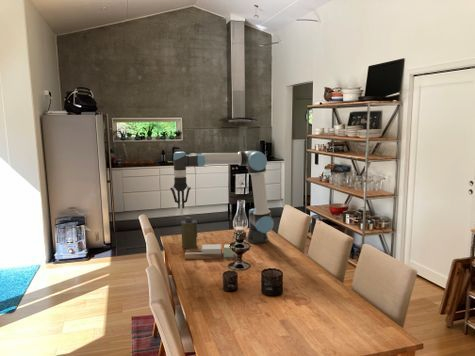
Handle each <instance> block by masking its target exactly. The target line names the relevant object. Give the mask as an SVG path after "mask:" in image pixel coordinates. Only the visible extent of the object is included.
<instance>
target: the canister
mask: <svg viewBox="0 0 475 356" xmlns="http://www.w3.org/2000/svg"><path fill="white" fill-rule="evenodd" d="M180 223H181V225H180V226H181V227H180V228H181V248H183V249H195V248H196V247H198V242H197V238H198V221H197V220H196V219H192V216H191V217H190V216H185V217H184V219H183V220H181V222H180Z"/></svg>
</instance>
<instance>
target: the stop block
mask: <svg viewBox="0 0 475 356" xmlns="http://www.w3.org/2000/svg"><path fill="white" fill-rule="evenodd" d="M229 246H230V244H224V246H223V253H224V257H234V252H235V251H234V252H233V251H232V250H231V249H230V247H229Z"/></svg>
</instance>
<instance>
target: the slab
mask: <svg viewBox="0 0 475 356" xmlns="http://www.w3.org/2000/svg"><path fill="white" fill-rule="evenodd" d="M201 249H202V254H221V249H222V243H219V244H218V243H217V244H215V243H214V244H213V243H212V244H209V243H208V244H202V246H201Z"/></svg>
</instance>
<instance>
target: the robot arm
mask: <svg viewBox="0 0 475 356" xmlns="http://www.w3.org/2000/svg"><path fill="white" fill-rule="evenodd" d="M172 159H173V175H174V176H173V177H174V178H173V179H174V180H173V181H174V183H173V186H171V187H170V190H171V192H172V196H173V200H174V203H176V204H177V208H178V209H179V215H183V214H184V209H185V203H187V202H188V198H189V195H190V190H191V186H188V183H187V168H192V167H200V168H201V167H204V166H205V165H238V166H239V167H240V166H245V167H247V172H248V174H249V175H250V177H251V178H250V179H251V186H252V195H253V204H254V208H251V209H249V210H248V224H249V225H248V226H249V227H248V233H247V236H246V241H247V242H248V243H250V244H259V245H260V244H264V243H268V242H269V236H268V233H269V232H271V231H272V230H273V228H274V225H275V224H274V219H273V218H272V213H271V212H272V211H271V210H270V209H269V206H268V199H267V198H268V196H267V188H266V177H265V173H266V172H267V167H266V166H267V164H268V160H267V156H266V155H265V154H264V153H263V152H261V151H259V150H254V149H253V150H252V149H251V150H244V151H238V152H201V153H200V152H199V153H198V152H190V153H189V154H186V152H185V151H175V152H174V153H173V158H172ZM185 190H186V194H185ZM175 191H176V192H177V195H176V192H175Z"/></svg>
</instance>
